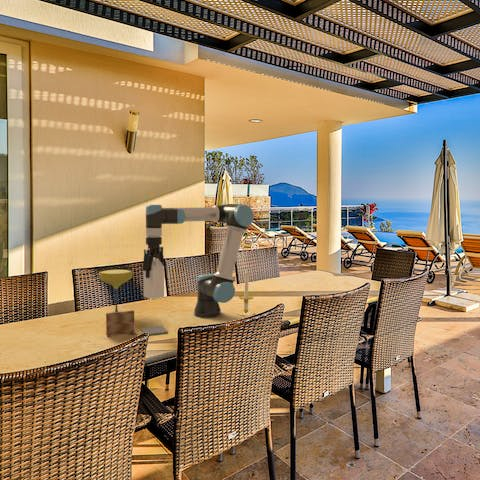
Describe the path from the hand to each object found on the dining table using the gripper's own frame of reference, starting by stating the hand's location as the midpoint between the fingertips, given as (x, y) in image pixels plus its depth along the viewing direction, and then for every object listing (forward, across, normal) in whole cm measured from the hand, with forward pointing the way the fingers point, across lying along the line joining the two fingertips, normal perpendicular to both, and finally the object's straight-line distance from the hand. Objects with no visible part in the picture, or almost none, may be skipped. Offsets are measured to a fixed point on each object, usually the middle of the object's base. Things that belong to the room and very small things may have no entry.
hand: (153, 282), depth 205 cm
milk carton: (+8, 0, 0) cm, 8 cm away
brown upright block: (+25, +10, -12) cm, 29 cm away
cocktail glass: (+25, -16, -35) cm, 46 cm away
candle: (+25, -48, +31) cm, 62 cm away
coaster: (+25, 0, 0) cm, 25 cm away
